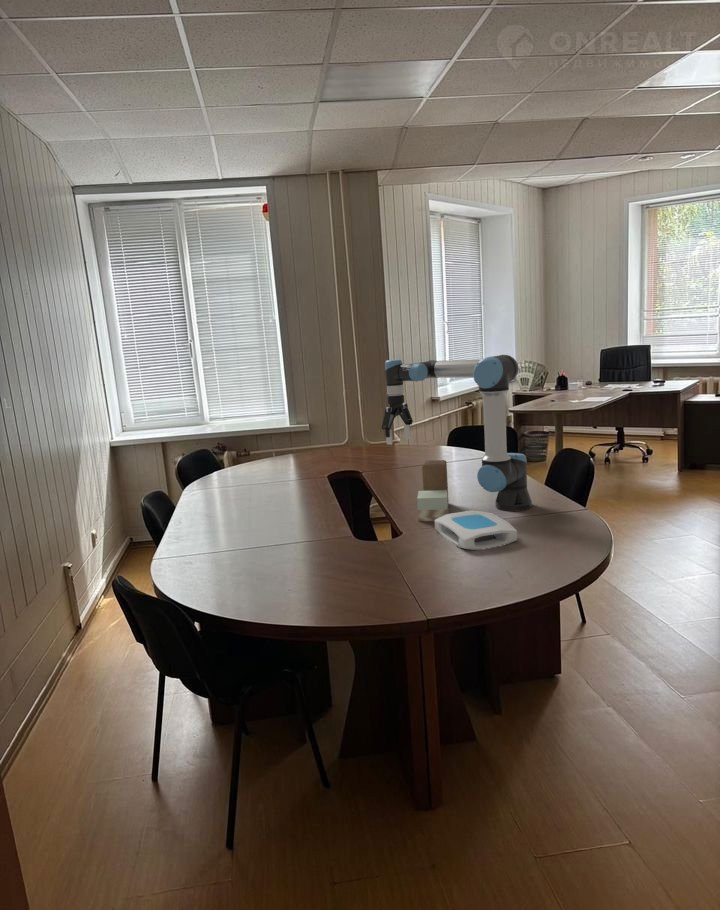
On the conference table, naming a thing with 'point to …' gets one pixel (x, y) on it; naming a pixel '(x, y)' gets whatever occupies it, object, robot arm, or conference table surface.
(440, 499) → the tower upper slab
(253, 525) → the conference table surface
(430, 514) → the tower lower slab
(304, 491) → the conference table surface
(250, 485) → the conference table surface
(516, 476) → the robot arm
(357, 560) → the conference table surface
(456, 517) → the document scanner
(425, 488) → the block
